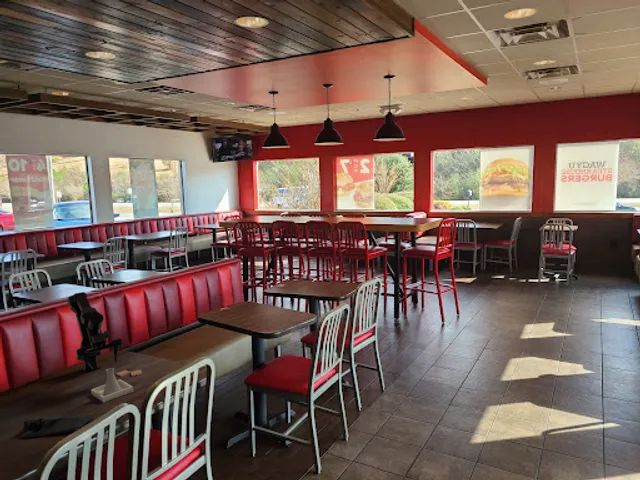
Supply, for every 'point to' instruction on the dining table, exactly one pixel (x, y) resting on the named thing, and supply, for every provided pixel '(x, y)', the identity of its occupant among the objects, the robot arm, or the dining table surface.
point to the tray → (104, 398)
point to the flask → (111, 383)
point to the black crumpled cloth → (53, 424)
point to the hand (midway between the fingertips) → (104, 365)
